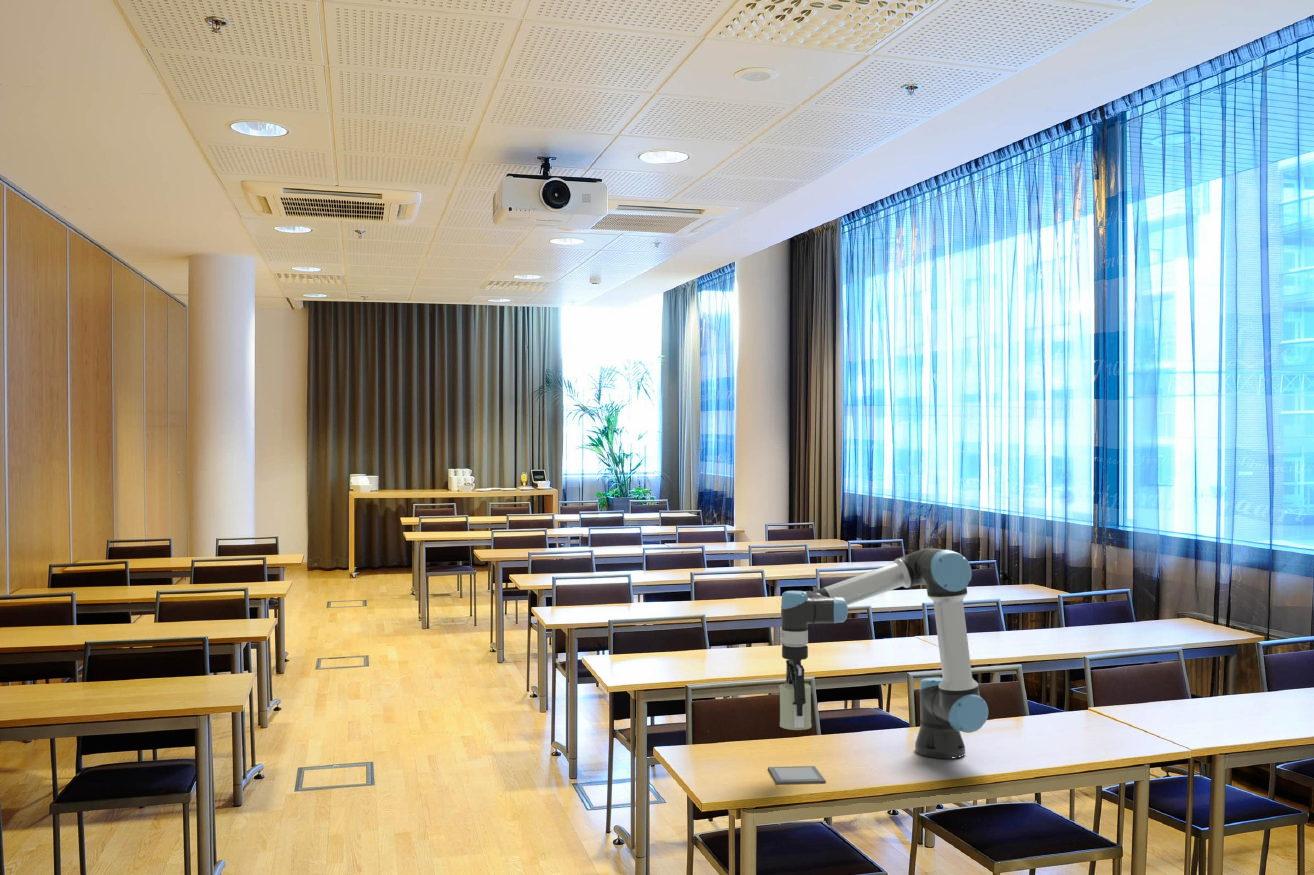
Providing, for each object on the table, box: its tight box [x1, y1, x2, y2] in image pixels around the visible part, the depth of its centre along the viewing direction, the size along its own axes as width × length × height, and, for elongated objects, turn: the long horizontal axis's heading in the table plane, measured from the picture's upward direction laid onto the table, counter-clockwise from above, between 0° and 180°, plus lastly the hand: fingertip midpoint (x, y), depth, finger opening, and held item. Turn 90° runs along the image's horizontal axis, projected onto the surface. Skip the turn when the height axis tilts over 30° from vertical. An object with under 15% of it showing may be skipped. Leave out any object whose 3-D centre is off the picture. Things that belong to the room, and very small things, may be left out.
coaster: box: [767, 765, 827, 785], centre depth 273 cm, size 14×14×1 cm
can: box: [779, 682, 812, 731], centre depth 274 cm, size 9×9×12 cm
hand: (795, 722), depth 274 cm, fingers closed on can, 9 cm apart
